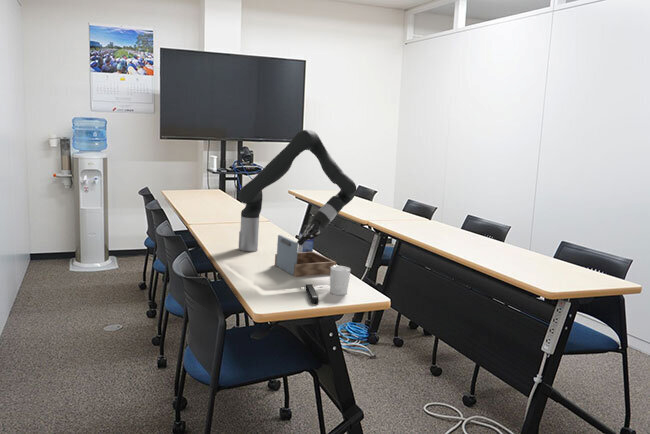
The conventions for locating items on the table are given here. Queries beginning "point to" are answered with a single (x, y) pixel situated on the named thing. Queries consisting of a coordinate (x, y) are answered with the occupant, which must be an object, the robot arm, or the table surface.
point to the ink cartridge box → (306, 245)
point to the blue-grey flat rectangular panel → (286, 254)
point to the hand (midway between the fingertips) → (298, 243)
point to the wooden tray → (311, 264)
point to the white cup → (339, 279)
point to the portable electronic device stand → (312, 294)
